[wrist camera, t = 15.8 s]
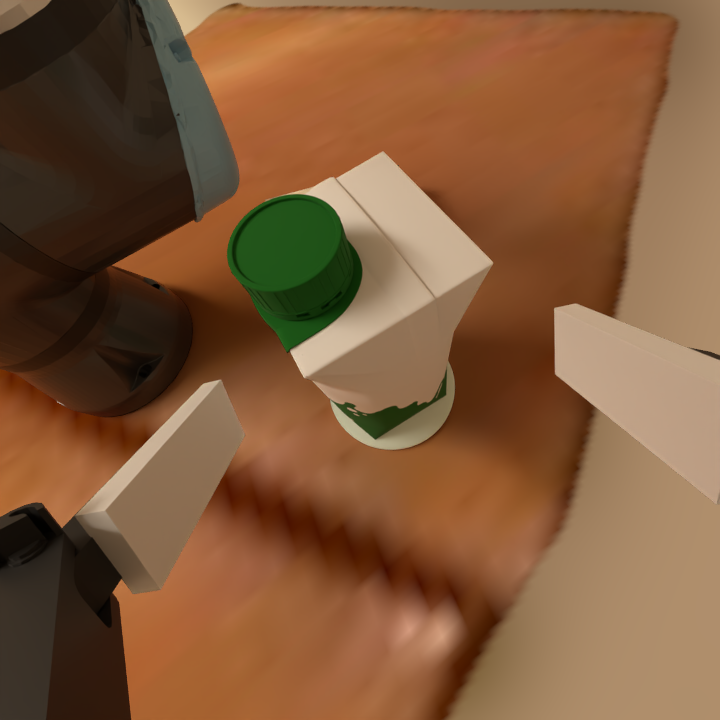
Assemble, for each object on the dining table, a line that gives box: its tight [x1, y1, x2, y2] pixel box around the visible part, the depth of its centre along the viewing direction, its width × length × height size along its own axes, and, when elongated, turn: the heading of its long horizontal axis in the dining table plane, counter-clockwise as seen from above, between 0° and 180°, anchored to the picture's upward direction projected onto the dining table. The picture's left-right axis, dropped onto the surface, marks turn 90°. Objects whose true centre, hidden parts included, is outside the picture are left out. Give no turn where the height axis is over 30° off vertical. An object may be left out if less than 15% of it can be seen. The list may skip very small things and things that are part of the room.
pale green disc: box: [330, 361, 455, 450], centre depth 30 cm, size 11×11×1 cm
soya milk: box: [227, 152, 493, 440], centre depth 20 cm, size 9×9×20 cm
